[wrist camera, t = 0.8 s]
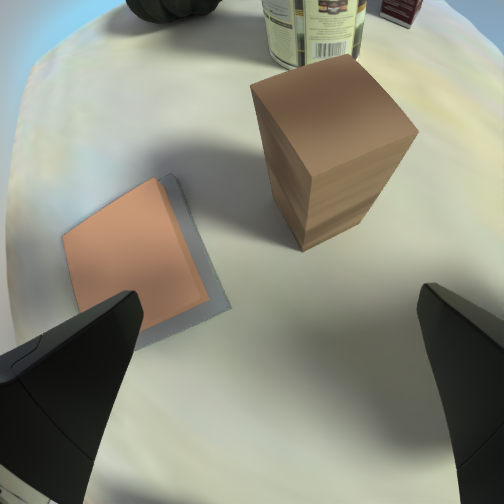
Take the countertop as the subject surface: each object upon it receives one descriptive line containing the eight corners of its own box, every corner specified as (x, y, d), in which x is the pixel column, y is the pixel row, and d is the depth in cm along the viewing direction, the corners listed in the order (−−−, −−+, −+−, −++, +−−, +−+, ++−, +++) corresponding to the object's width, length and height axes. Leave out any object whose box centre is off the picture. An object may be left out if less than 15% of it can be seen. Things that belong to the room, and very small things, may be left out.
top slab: (209, 299, 21) (201, 298, 19) (106, 347, 21) (91, 348, 19) (164, 186, 23) (154, 176, 21) (76, 241, 23) (62, 236, 21)
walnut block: (359, 223, 21) (418, 131, 9) (302, 252, 22) (312, 177, 9) (327, 170, 23) (348, 53, 10) (272, 196, 23) (249, 85, 11)
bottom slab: (234, 308, 22) (228, 308, 20) (115, 359, 23) (102, 362, 21) (180, 182, 25) (171, 172, 23) (80, 242, 26) (67, 238, 24)
